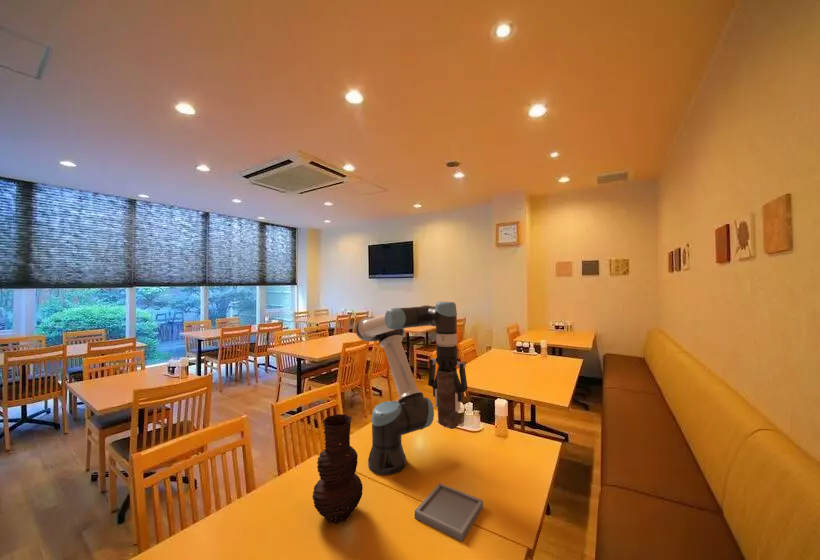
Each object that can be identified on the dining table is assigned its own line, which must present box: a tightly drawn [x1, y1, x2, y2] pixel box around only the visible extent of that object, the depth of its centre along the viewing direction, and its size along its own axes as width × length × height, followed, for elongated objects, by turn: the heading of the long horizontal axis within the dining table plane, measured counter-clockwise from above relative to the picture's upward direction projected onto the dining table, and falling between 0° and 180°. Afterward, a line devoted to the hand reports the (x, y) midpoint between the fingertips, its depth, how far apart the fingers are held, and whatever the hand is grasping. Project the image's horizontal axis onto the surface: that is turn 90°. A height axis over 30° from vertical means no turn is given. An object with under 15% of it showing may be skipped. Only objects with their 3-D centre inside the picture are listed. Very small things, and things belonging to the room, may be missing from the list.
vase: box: [312, 413, 364, 525], centre depth 100 cm, size 15×15×30 cm
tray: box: [414, 482, 484, 542], centre depth 100 cm, size 16×16×2 cm
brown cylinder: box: [436, 370, 460, 430], centre depth 114 cm, size 8×7×20 cm
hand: (447, 407), depth 114 cm, fingers closed on brown cylinder, 7 cm apart
